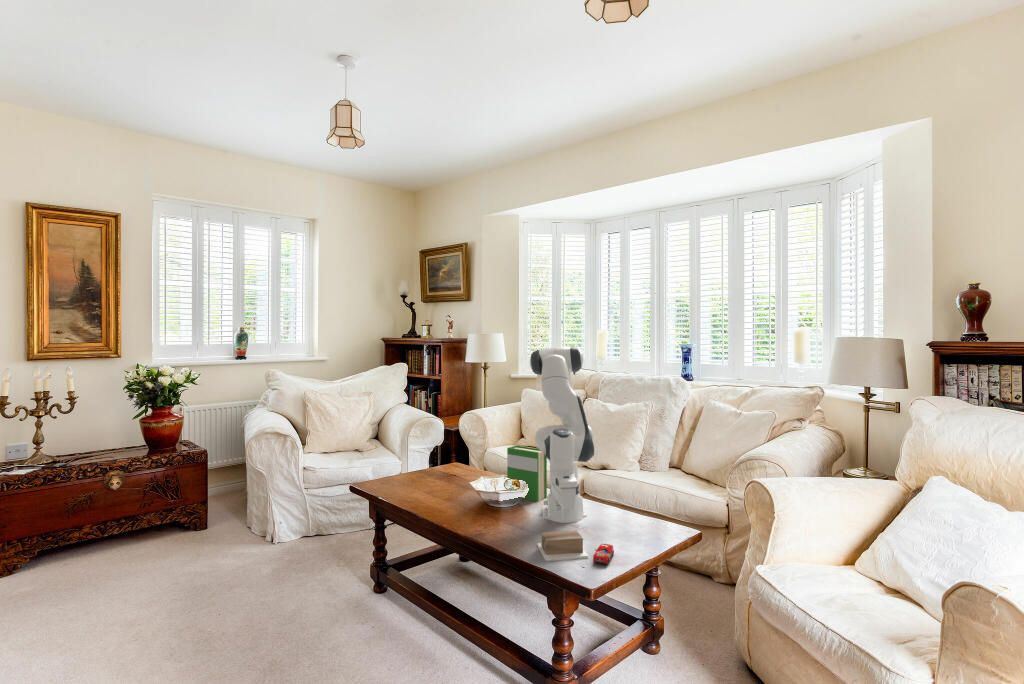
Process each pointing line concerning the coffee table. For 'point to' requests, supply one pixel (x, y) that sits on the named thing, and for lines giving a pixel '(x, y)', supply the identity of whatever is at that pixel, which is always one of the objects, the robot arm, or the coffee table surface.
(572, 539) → the walnut block
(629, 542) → the coffee table surface
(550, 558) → the board
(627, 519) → the coffee table surface
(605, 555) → the race car
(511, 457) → the hardback book
